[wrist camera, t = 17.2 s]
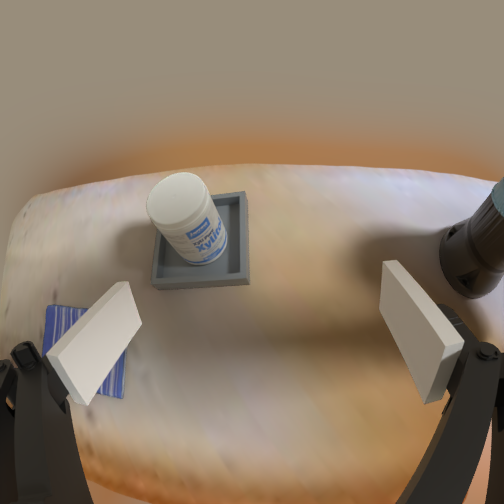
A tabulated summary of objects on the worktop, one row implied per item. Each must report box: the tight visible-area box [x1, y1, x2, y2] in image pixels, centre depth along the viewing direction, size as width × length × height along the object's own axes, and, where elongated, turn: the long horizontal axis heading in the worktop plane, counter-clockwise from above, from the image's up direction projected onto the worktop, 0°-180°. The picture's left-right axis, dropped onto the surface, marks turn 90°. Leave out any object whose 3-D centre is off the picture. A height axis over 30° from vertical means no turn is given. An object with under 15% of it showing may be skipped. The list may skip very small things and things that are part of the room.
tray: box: [151, 191, 250, 290], centre depth 52 cm, size 17×17×3 cm
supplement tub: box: [146, 172, 227, 265], centre depth 46 cm, size 10×10×15 cm
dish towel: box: [42, 305, 127, 399], centre depth 47 cm, size 17×24×3 cm
